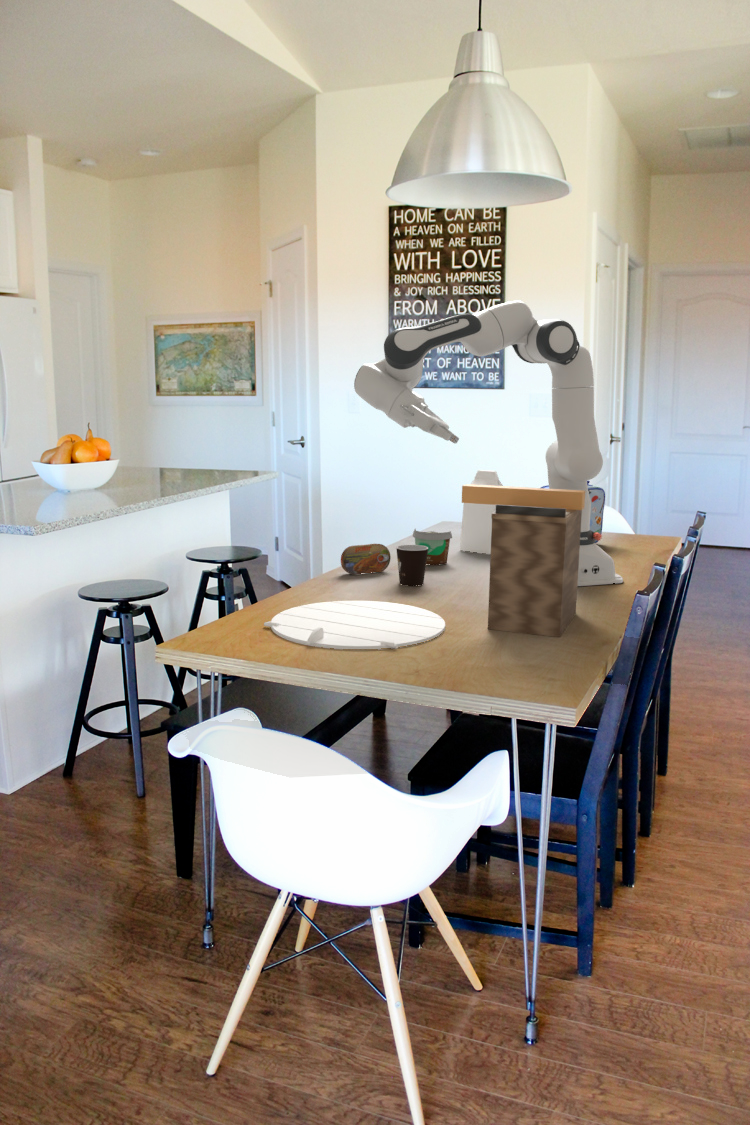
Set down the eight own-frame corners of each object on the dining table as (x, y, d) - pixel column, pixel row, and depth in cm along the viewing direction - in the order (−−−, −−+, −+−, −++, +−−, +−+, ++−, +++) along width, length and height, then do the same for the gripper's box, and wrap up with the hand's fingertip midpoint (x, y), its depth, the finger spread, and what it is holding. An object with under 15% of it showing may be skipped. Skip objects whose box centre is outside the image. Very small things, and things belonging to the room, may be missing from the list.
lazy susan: (391, 663, 180) (391, 646, 179) (232, 634, 198) (232, 619, 198) (472, 619, 214) (473, 604, 213) (330, 598, 233) (330, 584, 232)
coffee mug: (424, 588, 244) (425, 551, 242) (393, 586, 245) (393, 549, 243) (431, 579, 255) (431, 543, 253) (400, 577, 256) (401, 542, 254)
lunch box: (585, 539, 322) (589, 477, 318) (607, 544, 313) (611, 480, 309) (527, 546, 307) (530, 481, 303) (548, 551, 299) (552, 484, 294)
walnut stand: (487, 629, 204) (491, 505, 198) (510, 606, 225) (515, 494, 219) (559, 637, 198) (566, 510, 193) (576, 613, 219) (582, 497, 214)
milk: (508, 549, 301) (511, 470, 296) (493, 554, 292) (496, 473, 287) (475, 545, 308) (478, 468, 302) (459, 550, 298) (462, 470, 293)
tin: (343, 576, 257) (344, 546, 255) (338, 574, 260) (339, 545, 258) (390, 572, 264) (391, 543, 262) (385, 569, 267) (386, 541, 265)
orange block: (461, 502, 216) (462, 485, 215) (466, 500, 220) (466, 484, 219) (581, 510, 206) (582, 492, 206) (584, 507, 210) (585, 490, 209)
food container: (406, 564, 275) (406, 531, 273) (413, 560, 281) (413, 528, 279) (445, 567, 271) (446, 534, 269) (451, 564, 276) (452, 531, 274)
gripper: (405, 393, 219) (452, 424, 216) (424, 403, 238) (468, 432, 235) (390, 415, 220) (437, 447, 217) (411, 424, 239) (454, 453, 237)
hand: (453, 439), depth 226 cm, fingers open, 8 cm apart
